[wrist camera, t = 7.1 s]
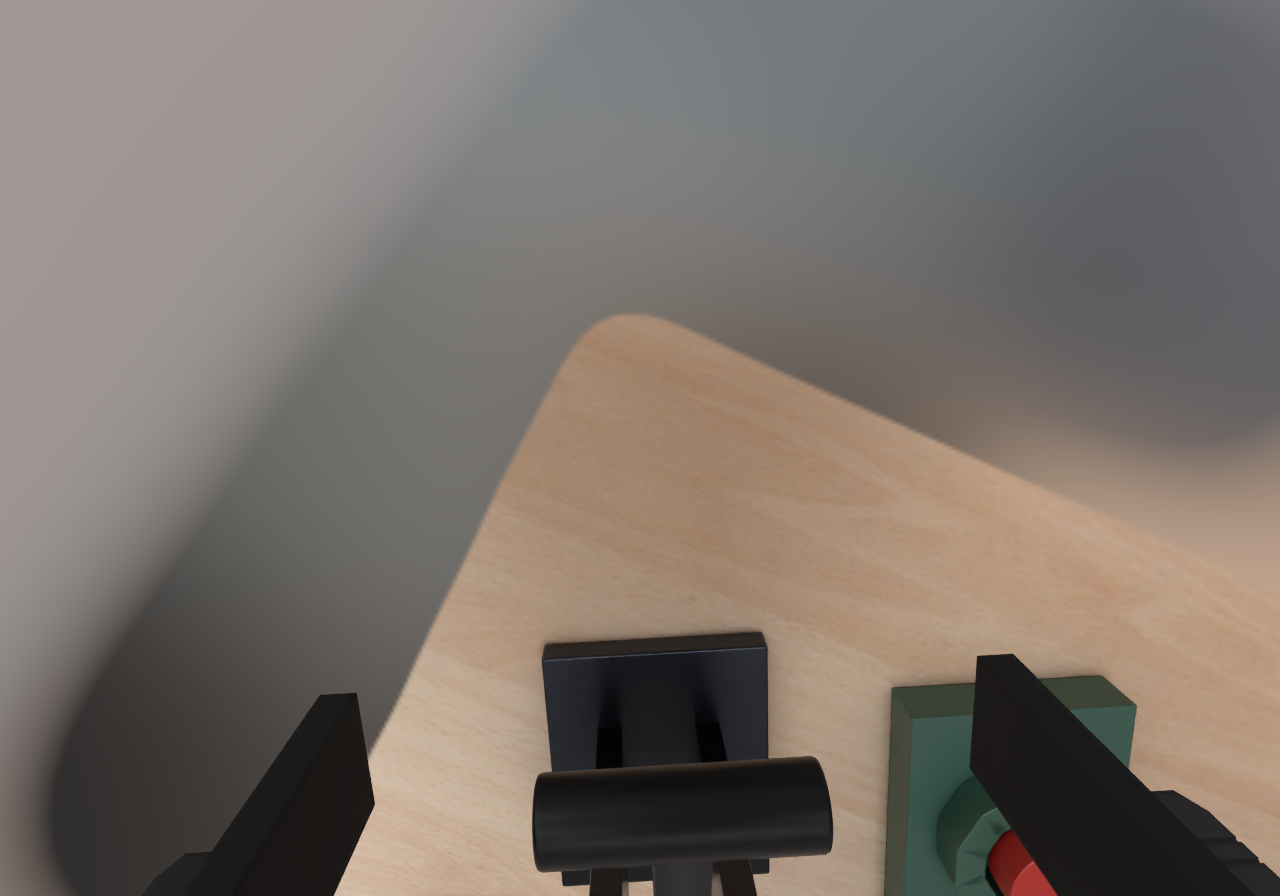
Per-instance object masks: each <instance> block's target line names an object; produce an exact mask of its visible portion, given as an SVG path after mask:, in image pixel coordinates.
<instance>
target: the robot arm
mask: <svg viewBox="0 0 1280 896" xmlns="http://www.w3.org/2000/svg"><path fill="white" fill-rule="evenodd" d="M969 768H970V769H971V771H972V772H973V774H974V775H975V777H976V778H977V780H978V781H979V782H980V784H981V785H982V787H983V788H984V790H985V791H986V793H987V794H988V795H989V797H990V798H991V800H992V801H993V803H994V804H995V806H996V807H997V809H998V810H999V811H1000V813H1001V814H1002V816H1003V817H1004V819H1005V820H1006V822H1007V823H1008V824H1009V826H1010V827H1011V829H1012V830H1013V832H1014V833H1015V835H1016V836H1017V838H1018V839H1019V840H1020V842H1021V843H1022V845H1023V846H1024V848H1025V849H1026V851H1027V852H1028V853H1029V855H1030V856H1031V858H1032V859H1033V861H1034V862H1035V864H1036V865H1037V867H1038V868H1039V869H1040V871H1041V872H1042V874H1043V875H1044V877H1045V878H1046V880H1047V881H1048V882H1049V884H1050V885H1051V887H1052V888H1053V890H1054V891H1055V893H1056V894H1057V896H1280V878H1279V877H1278V876H1277V875H1276V874H1275V873H1274V872H1273V871H1272V870H1271V869H1270V868H1269V867H1267V866H1266V865H1265V864H1264V863H1260V862H1259V860H1258V857H1257V856H1256V855H1255V854H1254V853H1253V852H1251V851H1250V850H1249V849H1248V848H1247V847H1246V846H1245V845H1244V844H1243V843H1242V842H1237V840H1236V837H1235V836H1234V835H1233V834H1232V833H1231V832H1230V831H1229V830H1228V829H1227V828H1226V827H1225V826H1224V825H1223V824H1221V823H1220V822H1219V821H1218V820H1217V819H1216V818H1215V817H1214V816H1213V815H1212V814H1211V813H1210V812H1209V811H1207V810H1205V809H1204V808H1202V807H1200V806H1199V805H1197V804H1195V803H1194V802H1192V801H1190V800H1189V799H1187V798H1185V797H1184V796H1182V795H1180V794H1179V793H1177V792H1175V791H1174V790H1167V791H1150V790H1149V789H1148V788H1147V787H1146V786H1145V785H1144V784H1143V783H1142V782H1141V781H1140V780H1139V779H1138V778H1137V777H1136V776H1135V775H1134V774H1133V773H1132V772H1131V771H1130V770H1129V769H1128V768H1127V767H1126V766H1125V765H1124V764H1123V763H1122V762H1121V761H1120V760H1119V759H1118V758H1117V757H1116V756H1115V755H1114V754H1113V753H1112V752H1111V751H1110V750H1109V749H1108V748H1107V747H1106V746H1105V745H1104V744H1103V743H1102V742H1101V741H1100V740H1099V739H1098V738H1097V737H1096V736H1095V735H1094V734H1093V733H1092V732H1091V731H1090V730H1089V729H1088V728H1087V727H1086V726H1085V725H1084V724H1083V723H1082V722H1081V721H1080V720H1079V719H1078V718H1077V717H1076V716H1075V715H1074V714H1073V713H1072V712H1071V711H1070V710H1069V709H1068V708H1067V707H1066V706H1065V705H1064V704H1063V703H1062V702H1061V701H1060V700H1059V699H1058V698H1057V697H1056V696H1055V695H1054V694H1053V693H1052V692H1051V691H1050V690H1049V689H1048V688H1047V687H1046V686H1045V685H1044V684H1043V683H1042V682H1041V681H1040V680H1039V679H1038V678H1037V677H1036V676H1035V675H1034V674H1033V673H1032V672H1031V671H1030V670H1029V669H1028V668H1027V667H1026V666H1025V665H1024V664H1023V663H1022V662H1021V661H1020V660H1019V659H1018V658H1017V657H1016V656H1015V655H1014V654H1002V655H985V656H977V666H976V680H975V694H974V708H973V722H972V737H971V751H970V765H969ZM374 805H375V801H374V795H373V789H372V783H371V777H370V771H369V765H368V759H367V753H366V747H365V741H364V735H363V729H362V723H361V717H360V711H359V704H358V699H357V693H347V694H329V695H320V696H319V697H318V699H317V700H316V702H315V703H314V705H313V706H312V707H311V709H310V710H309V712H308V713H307V714H306V716H305V718H304V719H303V720H302V722H301V723H300V725H299V726H298V728H297V729H296V730H295V732H294V733H293V735H292V736H291V738H290V739H289V741H288V742H287V744H286V745H285V746H284V748H283V749H282V751H281V752H280V754H279V755H278V757H277V758H276V759H275V761H274V762H273V764H272V765H271V767H270V768H269V769H268V771H267V772H266V774H265V775H264V777H263V778H262V780H261V781H260V782H259V784H258V785H257V787H256V788H255V790H254V791H253V793H252V794H251V795H250V797H249V798H248V800H247V801H246V803H245V804H244V806H243V807H242V809H241V810H240V811H239V813H238V814H237V816H236V817H235V819H234V820H233V821H232V823H231V824H230V826H229V827H228V829H227V830H226V832H225V833H224V834H223V836H222V837H221V839H220V840H219V842H218V843H217V845H216V846H215V847H214V849H213V850H212V852H203V853H186V854H184V855H183V856H182V857H181V858H179V860H177V861H176V862H175V863H174V864H172V865H171V866H170V867H169V868H167V869H166V870H165V871H164V872H163V873H161V874H160V875H159V876H158V877H156V878H155V879H154V880H153V882H152V883H151V884H150V886H149V887H148V888H147V890H146V891H145V892H144V894H143V895H142V896H334V894H335V892H336V889H337V887H338V885H339V883H340V881H341V878H342V876H343V874H344V872H345V869H346V867H347V865H348V863H349V861H350V858H351V856H352V854H353V852H354V850H355V847H356V845H357V843H358V841H359V838H360V836H361V834H362V832H363V830H364V827H365V825H366V823H367V821H368V818H369V816H370V814H371V812H372V810H373V807H374Z"/></svg>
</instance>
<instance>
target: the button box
mask: <svg viewBox="0 0 1280 896" xmlns="http://www.w3.org/2000/svg"><path fill="white" fill-rule="evenodd" d="M1039 680H1040V681H1041V682H1042V683H1043V684H1044V685H1045V686H1046V687H1047V688H1048V689H1049V690H1050V691H1051V692H1052V693H1053V694H1054V695H1055V696H1056V697H1057V698H1058V699H1059V700H1060V701H1061V702H1062V703H1063V704H1064V705H1065V706H1066V707H1067V708H1068V709H1069V710H1070V711H1071V712H1072V713H1073V714H1074V715H1075V716H1076V717H1077V718H1078V719H1079V720H1080V721H1081V722H1082V723H1083V724H1084V725H1085V726H1086V727H1087V728H1088V729H1089V730H1090V731H1091V732H1092V733H1093V734H1094V735H1095V736H1096V737H1097V738H1098V739H1099V740H1100V741H1101V742H1102V743H1103V744H1104V745H1105V746H1106V747H1107V748H1108V749H1109V750H1110V751H1111V752H1112V753H1113V754H1114V755H1115V756H1116V757H1117V758H1118V759H1119V760H1120V761H1121V762H1122V763H1123V764H1124V765H1125V766H1126V767H1127V768H1128V769H1129V761H1130V754H1131V746H1132V739H1133V731H1134V723H1135V716H1136V708H1137V705H1136V704H1135V703H1133V702H1132V701H1131V700H1130V699H1129V698H1128V697H1126V696H1125V695H1124V694H1123V693H1122V692H1121V691H1119V690H1118V689H1117V688H1116V687H1115V686H1114V685H1112V684H1111V683H1110V682H1109V681H1108V680H1107V679H1105V678H1104V677H1103V676H1088V677H1071V678H1054V679H1039ZM974 694H975V683H971V684H955V685H938V686H922V687H905V688H893V691H892V716H891V742H890V767H889V793H888V819H887V844H886V870H885V896H1004V895H1003V893H1002V892H1001V890H1000V888H999V887H998V885H997V883H996V882H995V880H994V878H993V876H992V875H991V872H990V869H989V854H990V851H991V848H992V847H993V846H994V844H995V843H996V842H997V840H998V839H999V838H1000V836H1001V835H1002V834H1003V833H1004V832H1006V831H1008V830H1009V829H1011V827H1010V826H1009V824H1008V823H1007V822H1006V820H1005V819H1004V817H1003V816H1002V814H1001V813H1000V811H999V810H998V809H997V807H996V806H995V804H994V803H993V801H992V800H991V798H990V797H989V795H988V794H987V793H986V791H985V790H984V788H983V787H982V785H981V784H980V782H979V781H978V780H977V778H976V777H975V775H974V774H973V772H972V771H971V769H970V768H969V765H970V751H971V737H972V722H973V708H974Z"/></svg>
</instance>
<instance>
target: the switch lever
mask: <svg viewBox="0 0 1280 896" xmlns="http://www.w3.org/2000/svg"><path fill="white" fill-rule="evenodd" d="M532 837H533V852H534V860H535V864H536V867H537V870H538V871H540V872H542V873H543V872H559V871H575V870H591V869H607V868H622V867H638V866H652V874H653V892H654V896H712V879H713V862H717V861H733V860H749V859H765V858H781V857H797V856H812V855H826V854H827V853H829V852H830V851H831V848H832V842H833V818H832V809H831V802H830V796H829V791H828V787H827V783H826V779H825V776H824V773H823V770H822V768H821V766H820V763H819V762H818V760H817V759H816V758H815V757H812V756H805V757H789V758H773V759H756V760H740V761H724V762H707V763H691V764H675V765H658V766H642V767H626V768H610V769H593V770H577V771H561V772H544V773H541V774H539V775H538V777H537V780H536V783H535V789H534V797H533V813H532Z"/></svg>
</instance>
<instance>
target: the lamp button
mask: <svg viewBox="0 0 1280 896" xmlns="http://www.w3.org/2000/svg"><path fill="white" fill-rule="evenodd" d="M989 869H990V872H991V875H992V876H993V878H994V880H995V882H996V883H997V885H998V887H999V888H1000V890H1001V892H1002V893H1003V895H1004V896H1057V894H1056V893H1055V891H1054V890H1053V888H1052V887H1051V885H1050V884H1049V882H1048V881H1047V880H1046V878H1045V877H1044V875H1043V874H1042V872H1041V871H1040V869H1039V868H1038V867H1037V865H1036V864H1035V862H1034V861H1033V859H1032V858H1031V856H1030V855H1029V853H1028V852H1027V851H1026V849H1025V848H1024V846H1023V845H1022V843H1021V842H1020V840H1019V839H1018V838H1017V836H1016V835H1015V833H1014V832H1013V830H1012V829H1009V830H1008V831H1006V832H1004V833H1003V834H1002V835H1001V836H1000V838H999V839H998V840H997V842H996V843H995V844H994V846H993V847H992V848H991V851H990V854H989Z"/></svg>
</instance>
